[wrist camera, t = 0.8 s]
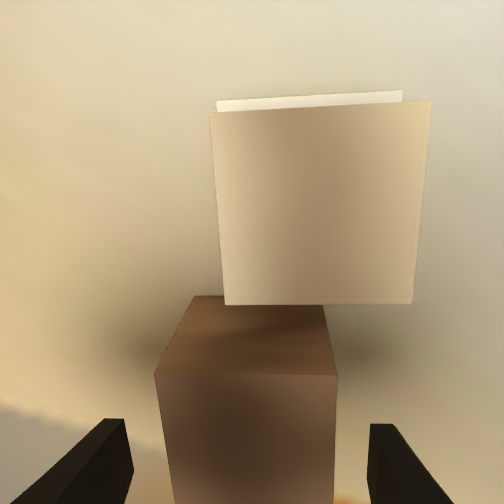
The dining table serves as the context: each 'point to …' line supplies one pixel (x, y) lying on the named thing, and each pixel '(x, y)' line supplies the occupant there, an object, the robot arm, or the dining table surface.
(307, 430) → the walnut block
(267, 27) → the dining table surface
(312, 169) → the maple base
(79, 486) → the robot arm
